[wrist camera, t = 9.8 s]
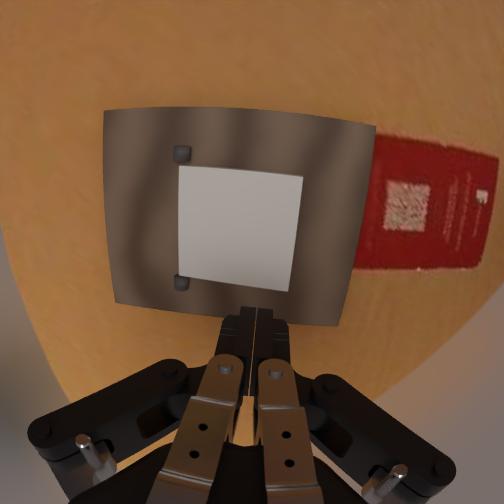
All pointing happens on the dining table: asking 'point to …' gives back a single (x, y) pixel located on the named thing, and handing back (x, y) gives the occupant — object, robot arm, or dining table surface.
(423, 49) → the dining table surface
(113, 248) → the walnut board
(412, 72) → the dining table surface
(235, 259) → the tile
